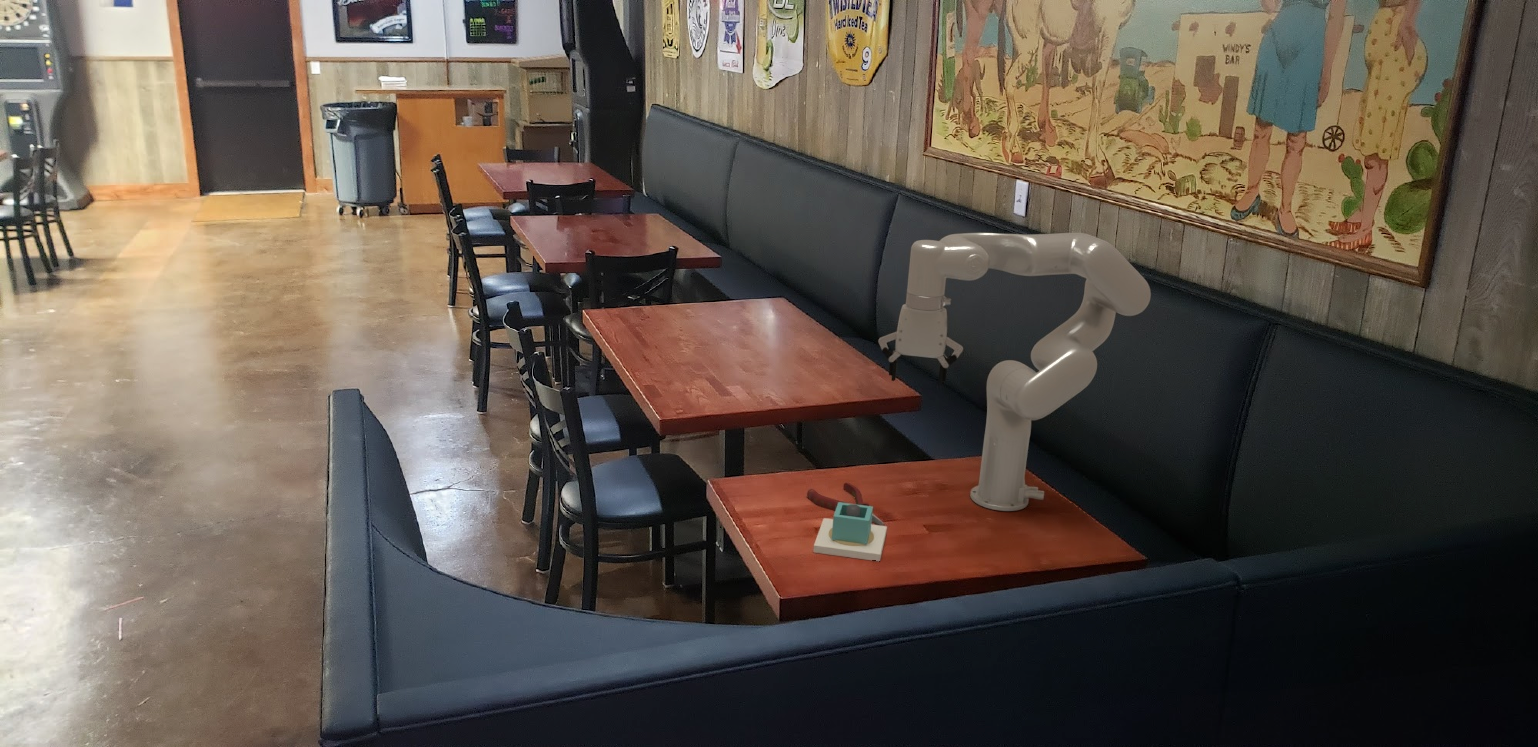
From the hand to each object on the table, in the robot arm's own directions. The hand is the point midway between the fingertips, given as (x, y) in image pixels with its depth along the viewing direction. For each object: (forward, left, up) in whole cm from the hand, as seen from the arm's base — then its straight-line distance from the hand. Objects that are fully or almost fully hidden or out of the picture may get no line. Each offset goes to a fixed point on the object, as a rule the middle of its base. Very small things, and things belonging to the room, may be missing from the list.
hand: (916, 381), depth 235 cm
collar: (+9, +21, -26) cm, 35 cm away
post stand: (+9, +21, -28) cm, 36 cm away
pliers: (+13, +6, -29) cm, 32 cm away
